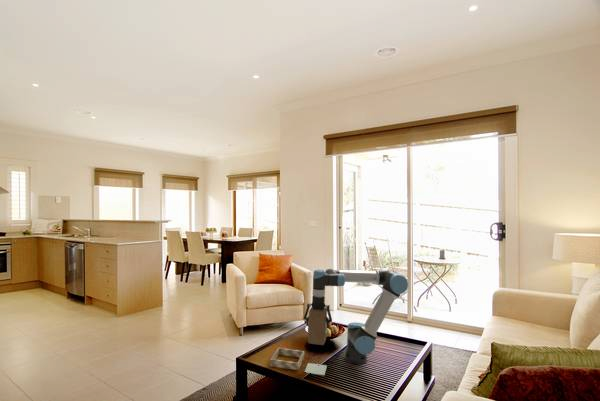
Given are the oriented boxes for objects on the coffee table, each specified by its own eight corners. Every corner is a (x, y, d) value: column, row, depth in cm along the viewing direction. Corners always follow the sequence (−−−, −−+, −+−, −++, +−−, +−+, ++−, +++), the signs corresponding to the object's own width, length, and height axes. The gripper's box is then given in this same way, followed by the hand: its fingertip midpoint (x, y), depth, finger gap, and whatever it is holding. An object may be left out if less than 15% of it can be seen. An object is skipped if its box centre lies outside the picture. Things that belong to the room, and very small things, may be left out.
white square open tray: (304, 357, 217) (304, 351, 217) (298, 370, 200) (298, 363, 200) (277, 353, 221) (278, 347, 221) (270, 366, 203) (270, 359, 204)
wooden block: (324, 345, 196) (325, 312, 197) (307, 343, 198) (308, 310, 199) (326, 339, 206) (327, 307, 206) (310, 337, 208) (311, 305, 208)
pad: (326, 366, 206) (326, 365, 206) (324, 375, 194) (324, 374, 194) (308, 363, 209) (308, 362, 209) (304, 372, 197) (304, 372, 197)
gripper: (337, 295, 204) (336, 332, 204) (301, 292, 209) (300, 327, 208) (336, 298, 197) (335, 336, 196) (299, 295, 201) (298, 332, 201)
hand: (317, 332), depth 202 cm, fingers closed on wooden block, 10 cm apart
